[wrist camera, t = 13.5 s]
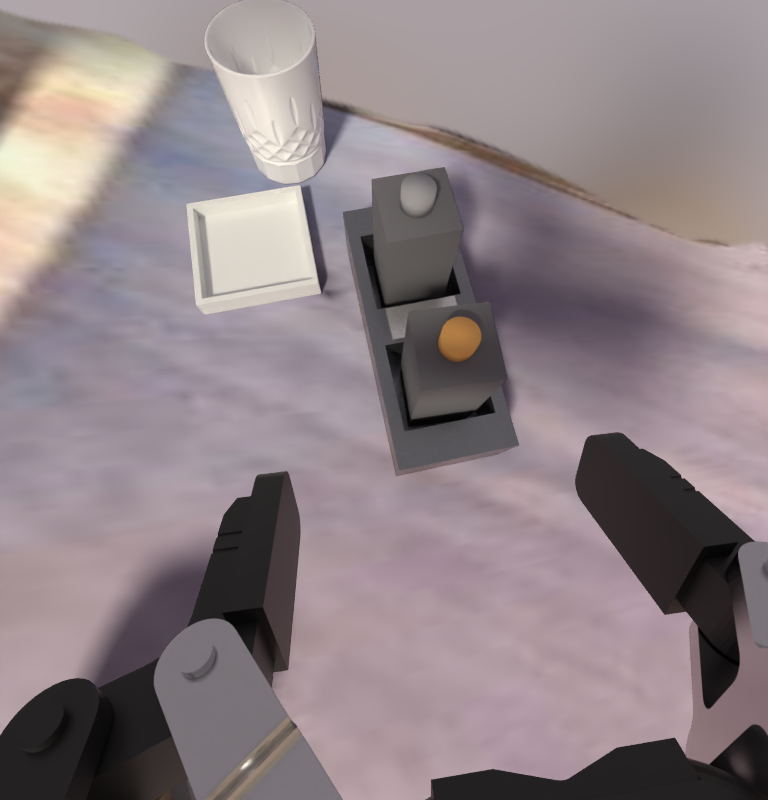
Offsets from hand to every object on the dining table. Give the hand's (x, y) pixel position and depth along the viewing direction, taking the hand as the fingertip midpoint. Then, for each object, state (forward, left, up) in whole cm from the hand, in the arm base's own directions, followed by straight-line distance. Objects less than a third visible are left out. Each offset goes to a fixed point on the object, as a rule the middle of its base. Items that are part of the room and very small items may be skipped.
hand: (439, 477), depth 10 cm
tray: (-8, +23, -19) cm, 31 cm away
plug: (+4, +7, -18) cm, 20 cm away
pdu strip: (+4, +11, -19) cm, 23 cm away
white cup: (-4, +33, -20) cm, 39 cm away
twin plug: (+4, +16, -18) cm, 25 cm away
